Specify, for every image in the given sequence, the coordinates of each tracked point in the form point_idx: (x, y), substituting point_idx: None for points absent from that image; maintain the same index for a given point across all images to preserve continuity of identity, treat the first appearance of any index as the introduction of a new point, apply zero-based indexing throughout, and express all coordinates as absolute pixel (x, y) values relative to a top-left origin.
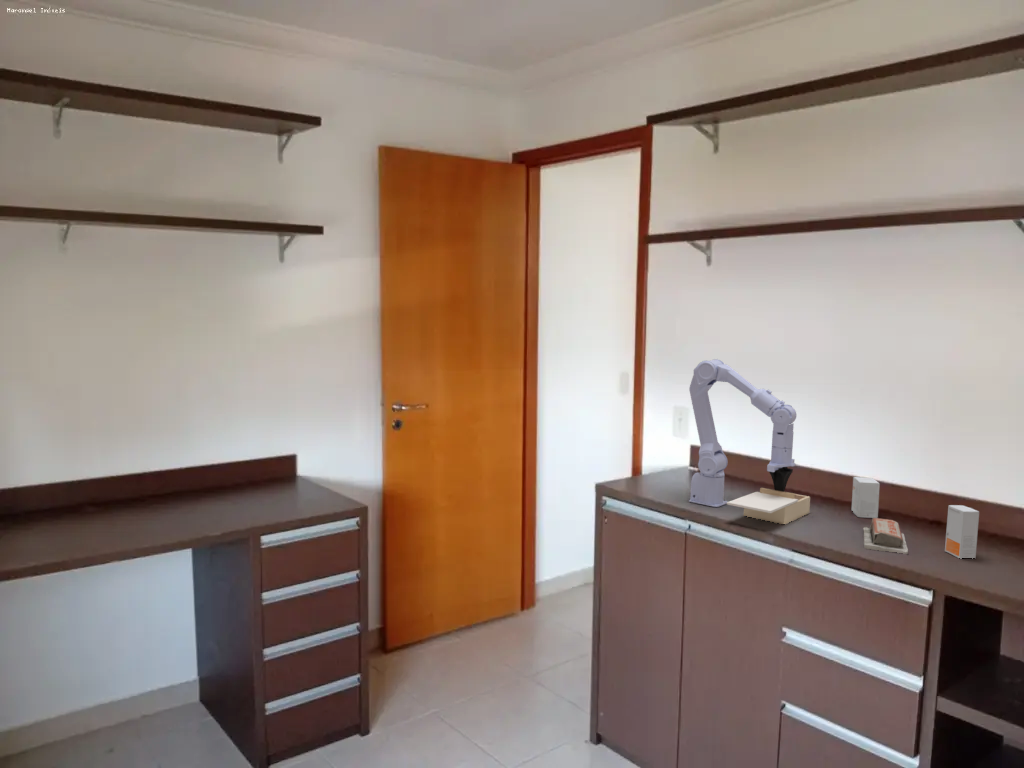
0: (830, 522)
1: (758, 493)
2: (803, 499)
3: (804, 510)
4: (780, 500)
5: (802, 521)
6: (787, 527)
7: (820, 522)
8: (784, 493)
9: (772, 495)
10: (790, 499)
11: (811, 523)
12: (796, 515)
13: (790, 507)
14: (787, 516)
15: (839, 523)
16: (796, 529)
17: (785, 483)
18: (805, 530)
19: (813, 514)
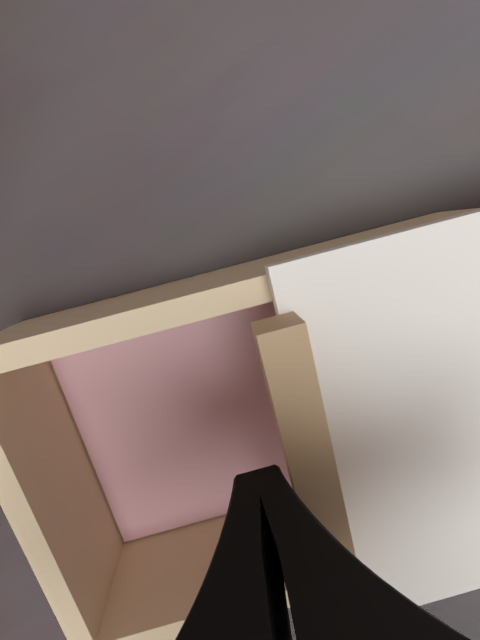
0: (76, 74)
1: (392, 578)
2: (101, 320)
3: (98, 305)
4: (467, 326)
5: (248, 208)
6: (467, 163)
7: (151, 119)
8: (323, 417)
9: (352, 487)
10: (342, 307)
11: (236, 138)
12: (246, 265)
13: None
14: (420, 221)
15: (30, 10)
16: (463, 96)
17: (260, 544)
18: (436, 41)
19: (11, 289)
